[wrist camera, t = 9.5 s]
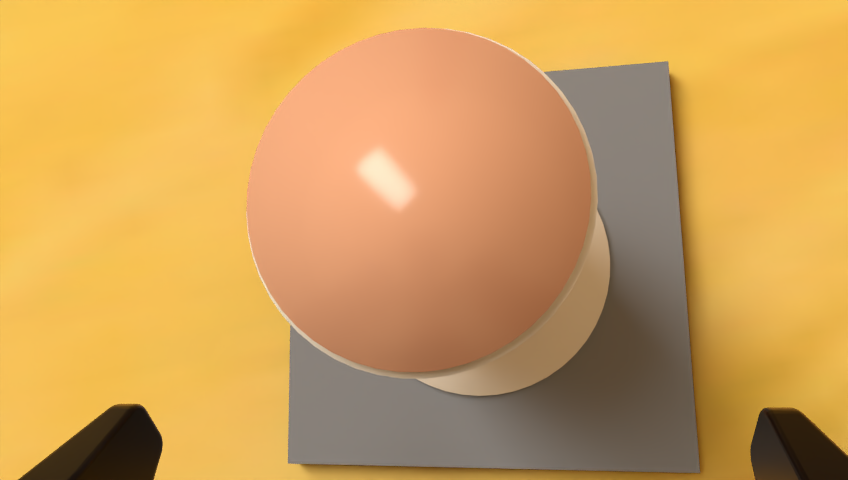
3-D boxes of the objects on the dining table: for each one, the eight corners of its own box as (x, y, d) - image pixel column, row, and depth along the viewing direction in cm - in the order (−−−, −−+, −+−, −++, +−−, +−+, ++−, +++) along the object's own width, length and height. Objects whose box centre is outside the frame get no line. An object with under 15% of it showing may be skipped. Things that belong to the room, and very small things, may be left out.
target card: (694, 468, 16) (702, 474, 15) (295, 459, 18) (285, 464, 17) (663, 70, 18) (669, 58, 17) (301, 100, 20) (292, 90, 19)
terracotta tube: (595, 319, 16) (660, 306, 8) (420, 378, 17) (295, 429, 8) (529, 149, 17) (520, -34, 9) (365, 211, 18) (203, 99, 9)
